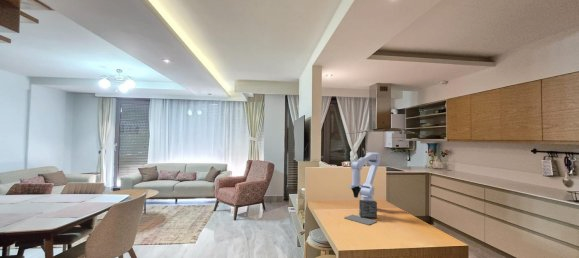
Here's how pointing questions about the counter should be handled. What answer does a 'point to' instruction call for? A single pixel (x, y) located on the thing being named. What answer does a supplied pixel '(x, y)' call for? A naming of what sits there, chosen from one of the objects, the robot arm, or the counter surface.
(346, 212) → the counter surface
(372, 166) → the robot arm
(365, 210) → the small box
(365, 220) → the mat
